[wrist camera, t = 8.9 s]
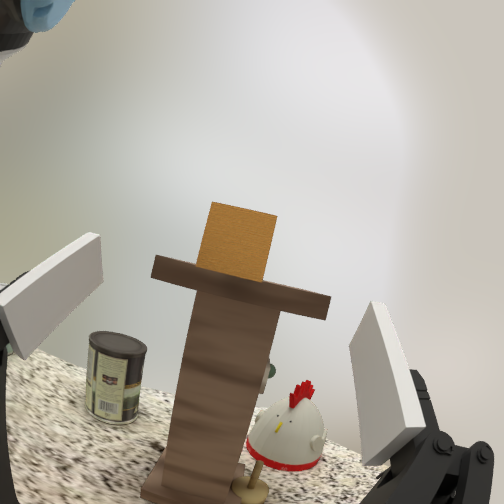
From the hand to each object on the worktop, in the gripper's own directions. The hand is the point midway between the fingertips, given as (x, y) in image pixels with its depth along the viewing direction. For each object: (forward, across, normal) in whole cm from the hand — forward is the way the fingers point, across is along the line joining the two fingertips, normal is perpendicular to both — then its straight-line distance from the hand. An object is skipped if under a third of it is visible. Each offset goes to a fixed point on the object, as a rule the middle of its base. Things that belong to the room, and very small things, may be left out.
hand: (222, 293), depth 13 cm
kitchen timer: (+14, -13, +42) cm, 46 cm away
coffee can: (+11, +19, +40) cm, 46 cm away
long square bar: (+12, 0, +6) cm, 13 cm away
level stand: (+1, 0, +34) cm, 34 cm away
